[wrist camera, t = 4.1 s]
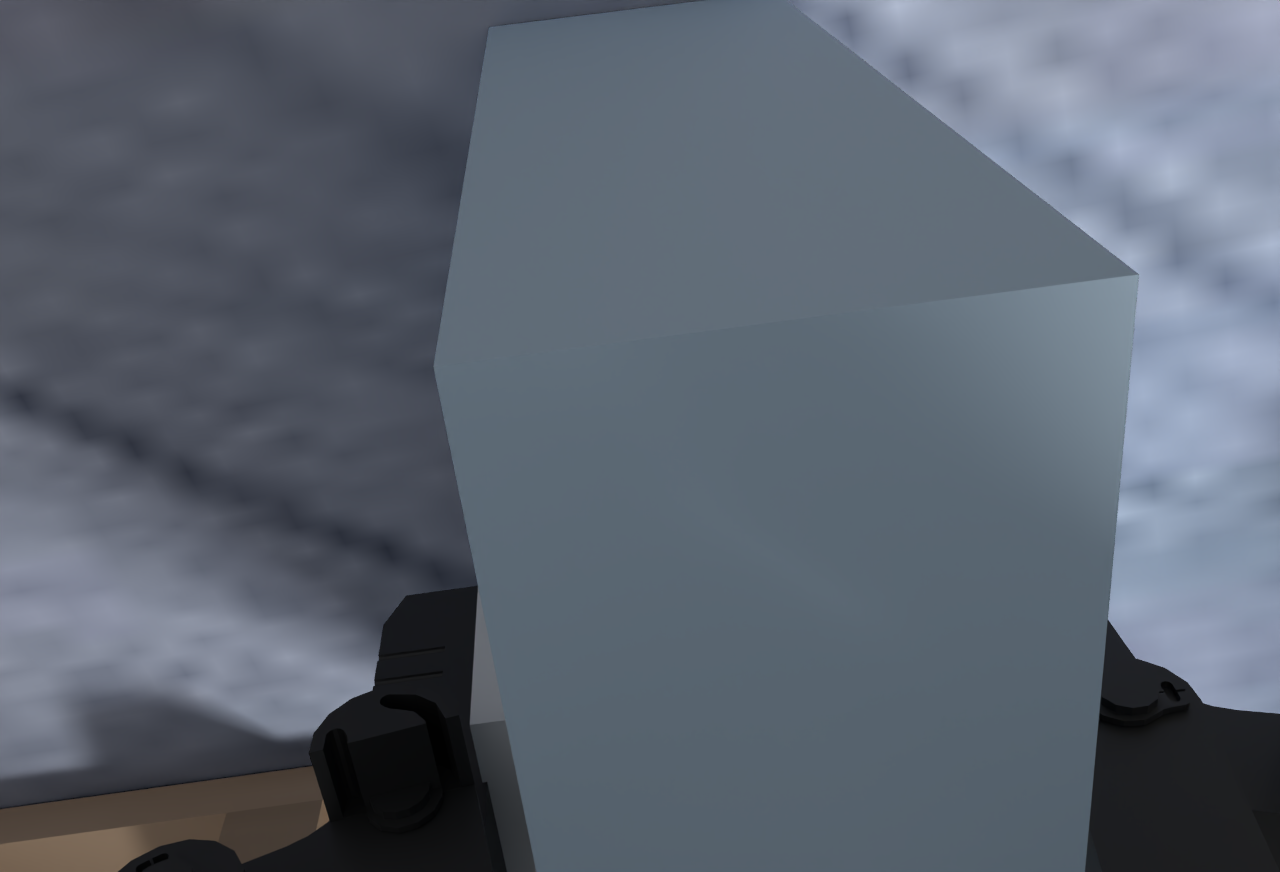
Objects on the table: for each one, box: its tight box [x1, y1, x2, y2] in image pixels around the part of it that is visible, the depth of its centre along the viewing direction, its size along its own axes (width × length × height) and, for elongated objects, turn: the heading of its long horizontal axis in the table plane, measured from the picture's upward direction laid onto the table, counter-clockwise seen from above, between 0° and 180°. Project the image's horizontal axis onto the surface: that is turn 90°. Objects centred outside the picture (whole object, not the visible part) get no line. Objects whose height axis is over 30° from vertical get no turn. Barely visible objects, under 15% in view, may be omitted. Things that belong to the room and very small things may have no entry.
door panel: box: [433, 0, 1139, 872], centre depth 13 cm, size 12×4×10 cm, turn 6°
